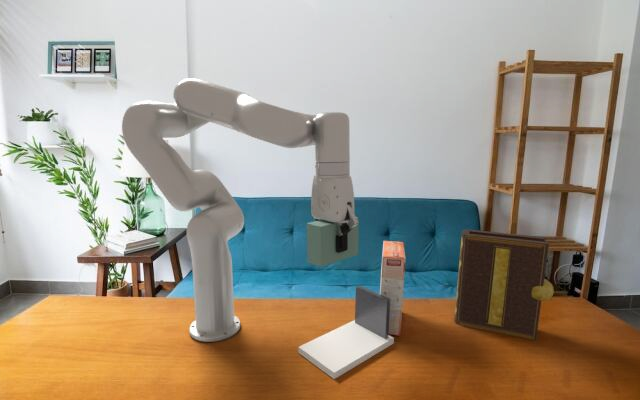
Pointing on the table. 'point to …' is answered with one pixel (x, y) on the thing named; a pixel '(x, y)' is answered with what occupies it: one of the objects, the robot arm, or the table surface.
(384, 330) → the bookend
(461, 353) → the table surface
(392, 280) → the cracker box
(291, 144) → the robot arm
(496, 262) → the book
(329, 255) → the book block
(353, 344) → the shelf board
